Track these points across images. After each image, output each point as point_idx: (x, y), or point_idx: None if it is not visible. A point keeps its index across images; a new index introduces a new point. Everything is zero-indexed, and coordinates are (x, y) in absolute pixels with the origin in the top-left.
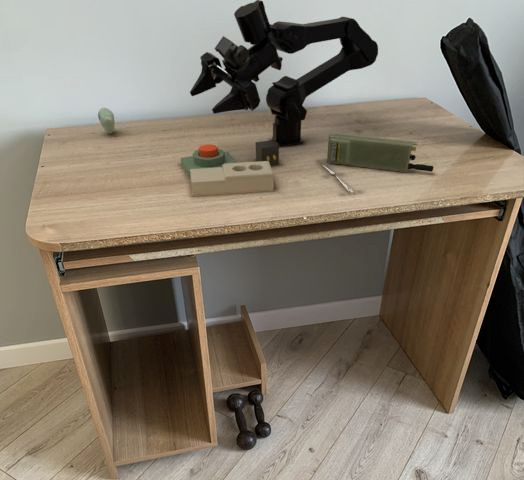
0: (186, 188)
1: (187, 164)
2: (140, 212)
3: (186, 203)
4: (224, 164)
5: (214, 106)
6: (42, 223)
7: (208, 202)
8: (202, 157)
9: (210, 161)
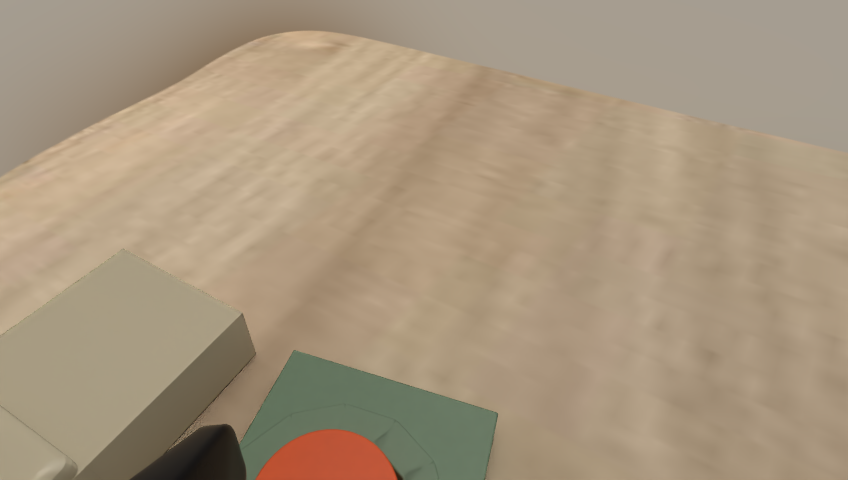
0: None
1: (383, 392)
2: (219, 151)
3: None
4: (37, 457)
5: (199, 453)
6: (356, 46)
7: None
8: None
9: None
